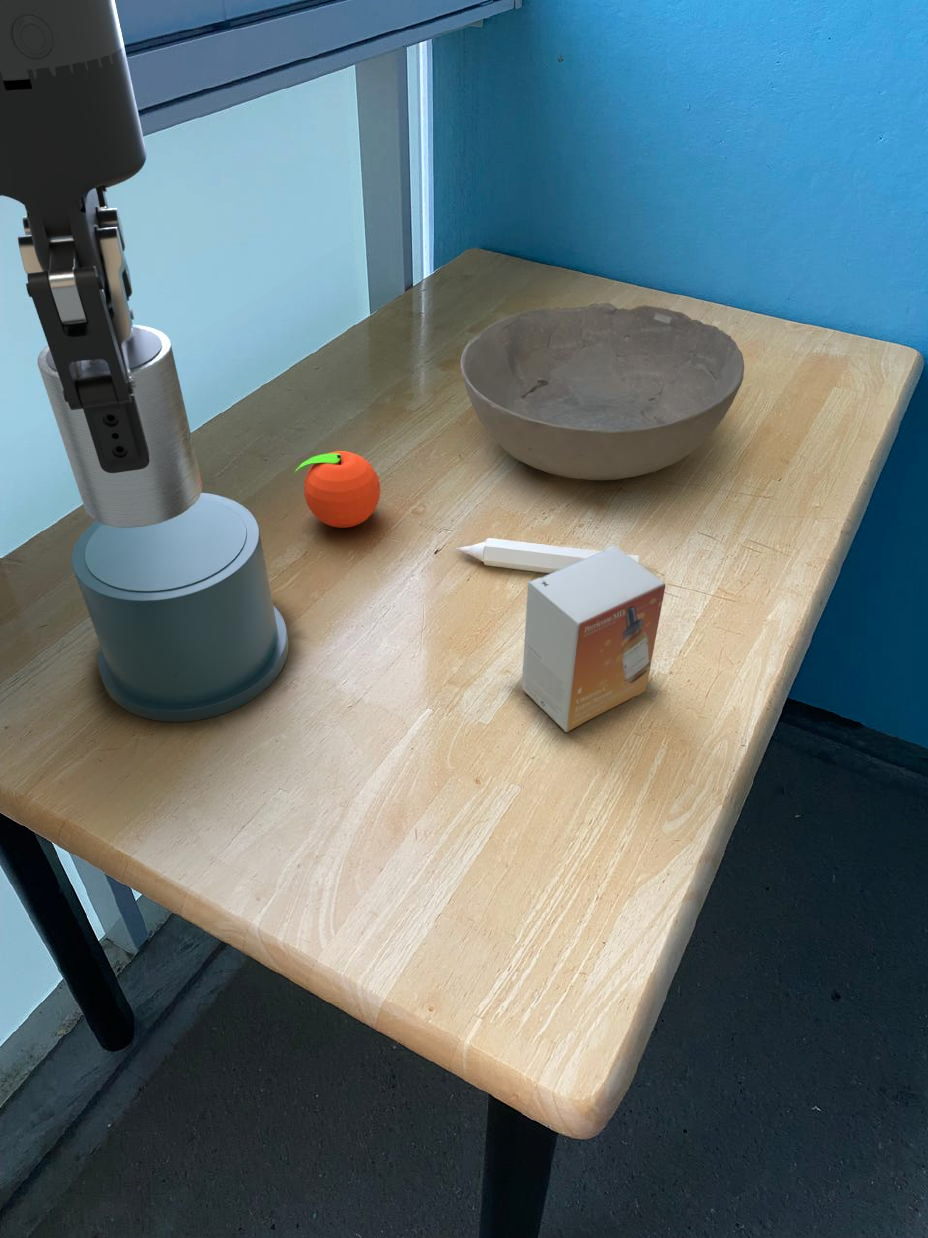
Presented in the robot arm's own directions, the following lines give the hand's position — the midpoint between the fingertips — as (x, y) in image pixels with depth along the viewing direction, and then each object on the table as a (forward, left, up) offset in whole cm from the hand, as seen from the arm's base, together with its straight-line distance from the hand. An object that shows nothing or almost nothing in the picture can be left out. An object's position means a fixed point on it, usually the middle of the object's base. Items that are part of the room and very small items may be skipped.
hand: (126, 432), depth 46 cm
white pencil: (+29, +16, -27) cm, 43 cm away
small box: (+27, +1, -27) cm, 38 cm away
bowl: (+41, +35, -27) cm, 61 cm away
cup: (0, 0, -4) cm, 4 cm away
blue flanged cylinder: (-1, +13, -27) cm, 30 cm away
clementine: (+13, +28, -27) cm, 41 cm away
